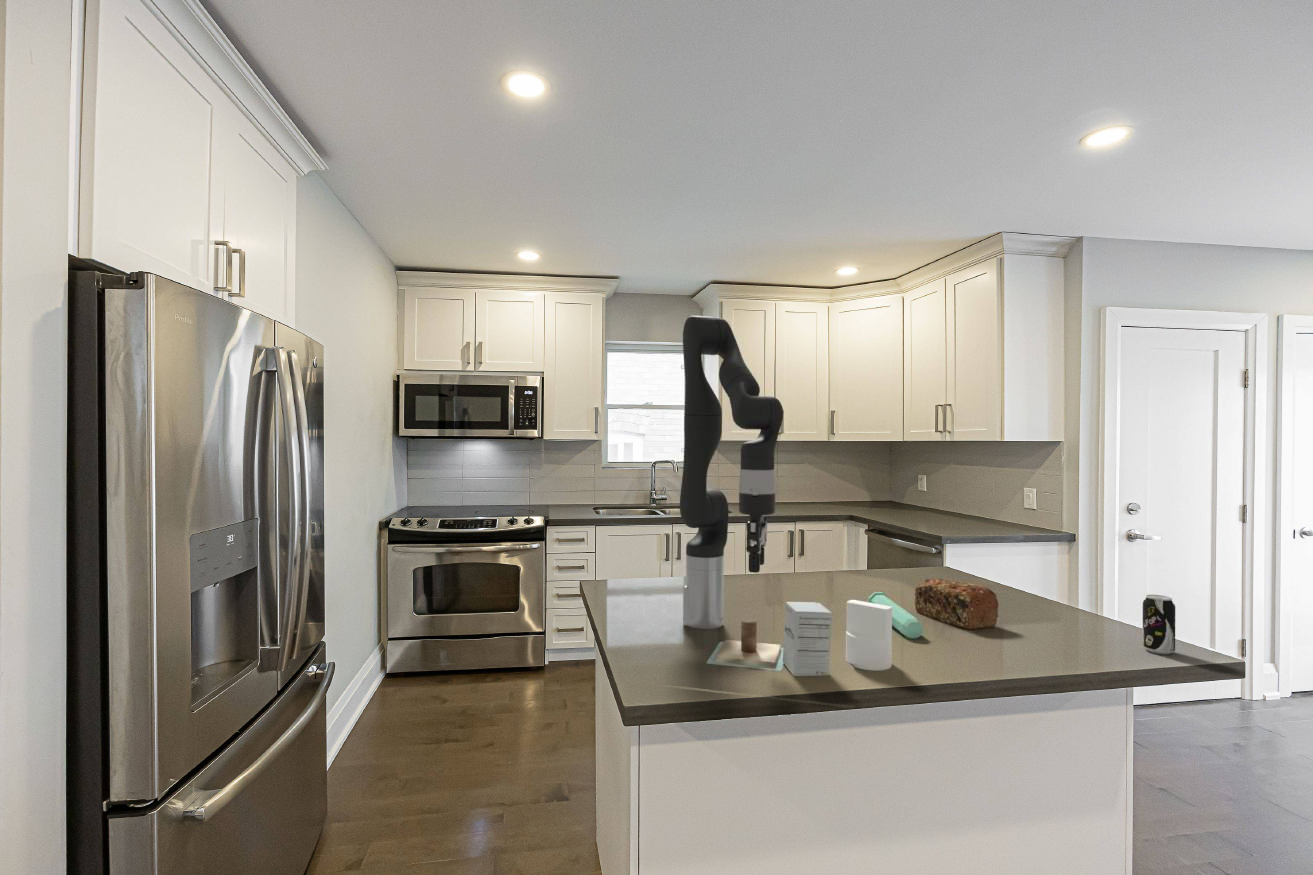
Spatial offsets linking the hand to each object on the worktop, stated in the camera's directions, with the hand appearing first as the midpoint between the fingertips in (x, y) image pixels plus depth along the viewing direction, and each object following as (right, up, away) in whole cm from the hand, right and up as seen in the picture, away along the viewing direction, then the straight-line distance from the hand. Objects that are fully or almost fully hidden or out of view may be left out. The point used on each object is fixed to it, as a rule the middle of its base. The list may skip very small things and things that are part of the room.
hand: (756, 568), depth 142 cm
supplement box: (+8, -19, -9) cm, 22 cm away
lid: (-2, -18, -1) cm, 18 cm away
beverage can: (+89, -20, +6) cm, 91 cm away
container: (+38, -19, +25) cm, 50 cm away
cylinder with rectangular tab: (+22, -19, -3) cm, 30 cm away
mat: (-2, -19, -1) cm, 19 cm away
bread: (+55, -19, +31) cm, 66 cm away
